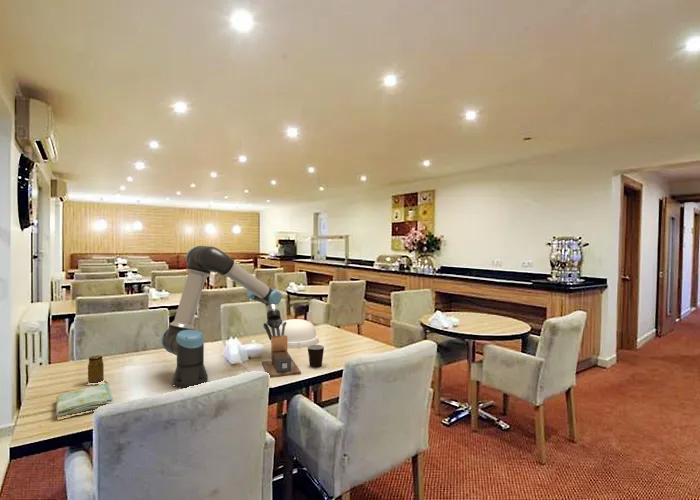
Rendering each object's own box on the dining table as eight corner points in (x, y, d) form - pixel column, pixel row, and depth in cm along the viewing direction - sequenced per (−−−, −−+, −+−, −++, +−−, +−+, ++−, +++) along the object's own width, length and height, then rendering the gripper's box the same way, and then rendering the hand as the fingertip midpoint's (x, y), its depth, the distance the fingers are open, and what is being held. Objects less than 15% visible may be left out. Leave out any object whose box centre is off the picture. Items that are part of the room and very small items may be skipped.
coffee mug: (321, 369, 204) (321, 349, 203) (305, 367, 206) (305, 348, 205) (327, 362, 215) (327, 343, 215) (311, 360, 217) (312, 342, 217)
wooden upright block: (276, 372, 193) (276, 344, 192) (271, 362, 208) (271, 336, 207) (292, 371, 196) (292, 343, 195) (286, 361, 211) (286, 335, 210)
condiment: (92, 380, 186) (92, 354, 185) (111, 379, 187) (111, 354, 186) (83, 386, 178) (83, 359, 178) (103, 385, 179) (103, 359, 179)
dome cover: (269, 337, 267) (269, 316, 266) (313, 334, 275) (313, 314, 275) (274, 350, 236) (274, 327, 235) (323, 347, 244) (323, 324, 244)
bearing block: (277, 372, 194) (277, 358, 194) (273, 366, 203) (273, 353, 203) (291, 371, 197) (291, 357, 196) (287, 365, 206) (287, 351, 206)
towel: (55, 422, 144) (55, 409, 144) (56, 402, 162) (56, 390, 162) (113, 410, 155) (113, 397, 155) (108, 392, 172) (108, 381, 172)
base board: (268, 377, 191) (268, 375, 191) (262, 363, 211) (262, 361, 211) (301, 374, 196) (301, 371, 196) (291, 360, 217) (291, 358, 217)
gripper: (283, 316, 230) (289, 352, 215) (261, 317, 226) (265, 355, 211) (285, 308, 225) (291, 345, 210) (262, 310, 220) (266, 348, 205)
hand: (278, 350), depth 210 cm, fingers closed
